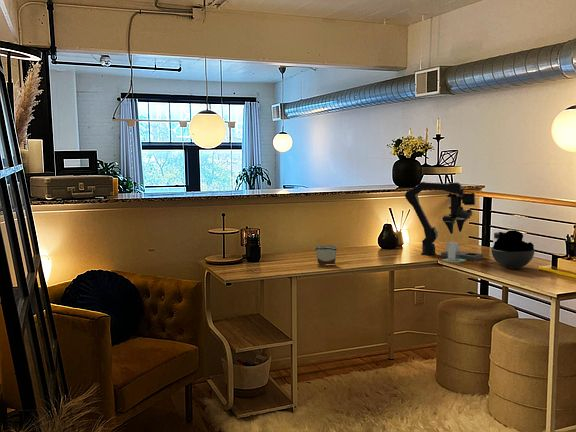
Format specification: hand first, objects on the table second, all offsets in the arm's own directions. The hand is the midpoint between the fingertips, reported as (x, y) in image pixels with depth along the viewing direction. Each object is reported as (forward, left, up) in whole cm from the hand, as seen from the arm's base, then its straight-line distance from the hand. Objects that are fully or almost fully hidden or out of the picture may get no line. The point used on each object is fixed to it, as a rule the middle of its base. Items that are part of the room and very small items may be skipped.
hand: (455, 232), depth 317 cm
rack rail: (+6, -4, -13) cm, 15 cm away
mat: (+7, -14, -13) cm, 20 cm away
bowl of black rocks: (+40, -15, -13) cm, 45 cm away
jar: (+18, +18, -13) cm, 29 cm away
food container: (-40, -63, -13) cm, 76 cm away
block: (0, -4, -13) cm, 14 cm away
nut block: (+7, -14, -13) cm, 20 cm away
